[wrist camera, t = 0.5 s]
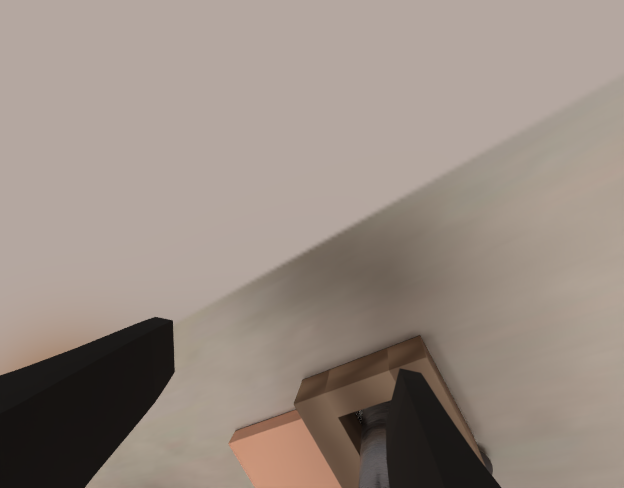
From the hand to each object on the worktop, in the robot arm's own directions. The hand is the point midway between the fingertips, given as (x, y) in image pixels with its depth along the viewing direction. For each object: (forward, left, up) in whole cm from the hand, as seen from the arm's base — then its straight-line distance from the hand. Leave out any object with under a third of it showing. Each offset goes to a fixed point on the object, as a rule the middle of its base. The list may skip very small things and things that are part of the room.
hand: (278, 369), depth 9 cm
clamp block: (-8, -7, -11) cm, 15 cm away
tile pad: (-15, -3, -11) cm, 19 cm away
